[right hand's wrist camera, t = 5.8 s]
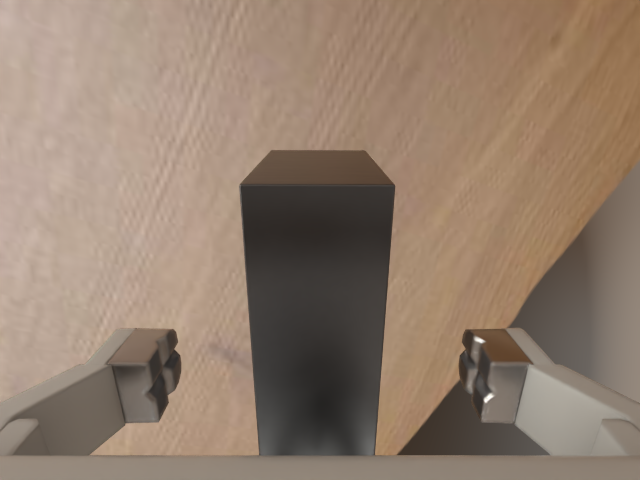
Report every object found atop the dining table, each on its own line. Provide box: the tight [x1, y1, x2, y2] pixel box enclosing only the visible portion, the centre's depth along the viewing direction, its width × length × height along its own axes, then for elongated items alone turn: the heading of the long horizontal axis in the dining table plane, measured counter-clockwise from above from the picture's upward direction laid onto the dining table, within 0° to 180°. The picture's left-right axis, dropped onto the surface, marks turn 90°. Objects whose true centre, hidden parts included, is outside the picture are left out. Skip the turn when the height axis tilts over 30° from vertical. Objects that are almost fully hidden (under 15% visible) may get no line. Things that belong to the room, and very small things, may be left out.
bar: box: [239, 150, 395, 456], centre depth 19 cm, size 24×5×8 cm, turn 0°
